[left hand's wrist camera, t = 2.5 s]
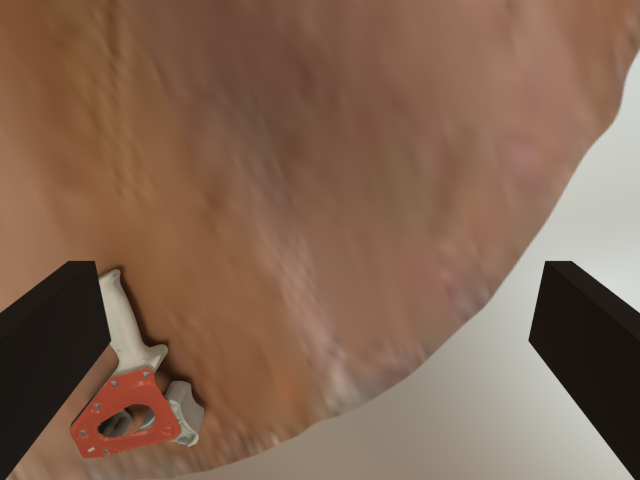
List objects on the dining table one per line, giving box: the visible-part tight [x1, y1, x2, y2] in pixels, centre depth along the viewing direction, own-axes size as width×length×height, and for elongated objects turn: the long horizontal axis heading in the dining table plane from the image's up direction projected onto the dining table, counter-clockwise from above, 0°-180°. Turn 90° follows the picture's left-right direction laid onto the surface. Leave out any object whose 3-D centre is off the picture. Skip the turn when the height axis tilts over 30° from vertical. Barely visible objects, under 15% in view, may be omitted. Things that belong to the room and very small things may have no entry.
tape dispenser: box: [70, 269, 204, 458], centre depth 45 cm, size 18×5×20 cm
